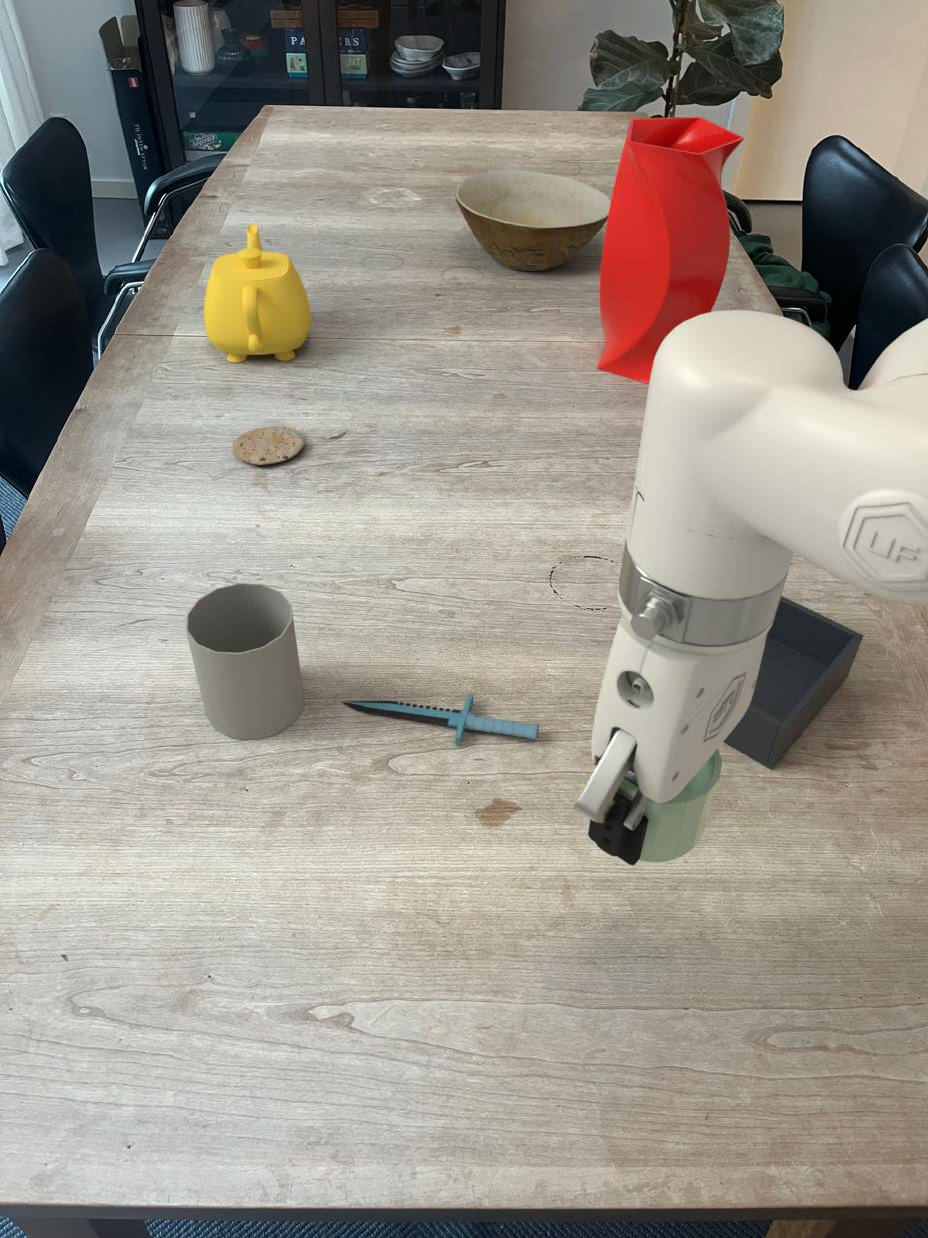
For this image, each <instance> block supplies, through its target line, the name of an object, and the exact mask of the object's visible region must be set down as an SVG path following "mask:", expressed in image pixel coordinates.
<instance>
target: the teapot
mask: <svg viewBox="0 0 928 1238" xmlns="http://www.w3.org/2000/svg"><path fill="white" fill-rule="evenodd" d="M246 239H247V240H246V248H243V249H241V250H239V251H238V252H233V253H227V254H223V255H220V256H218V257H217V258H216V259H215V261H214V263H213V265H212V268H211V270H210V274H209V276H208V277H209V278H208V280H207V281H208V282H207V286H206V290H205V295H204V302H203V321H204V329H205V330H204V331H205V334H206V336H207V338H208V340H209V341H210V342H211V343H212V345H213V347H215V349H217V350H218V351H219V352H221V353H222V352H223V353H226V354H228V355H227V358H226V359H227V361H229V362H230V363H242V362H245V361H246V360H247V359H248V356H260V355H262V356H263V355H271V354H274V356H275V359H277V360H279V361H290V360H292V359H294V358H295V357H296V354H295V352H294V351H293V350H296V349H298V348H300V347H302V346H303V344H304V342H305V341H306V339H307V337H308V335H309V332H310V329H311V325H312V311H311V305H310V302H309V298H308V295H307V291H306V289H305V286H304V283H303V281H302V278H301V277H300V274H299V273H298V270H297V269H296V267H295V265H294V263H293V262H292V260H291V259H290V257H289V256H288V255H287V254H284V253H282V252H274V251H264V250H263V248H262V243H261V240H260V233H259V228H258V226H257V225H256V224H255V223H250V224H248V226H247V229H246Z"/></svg>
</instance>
